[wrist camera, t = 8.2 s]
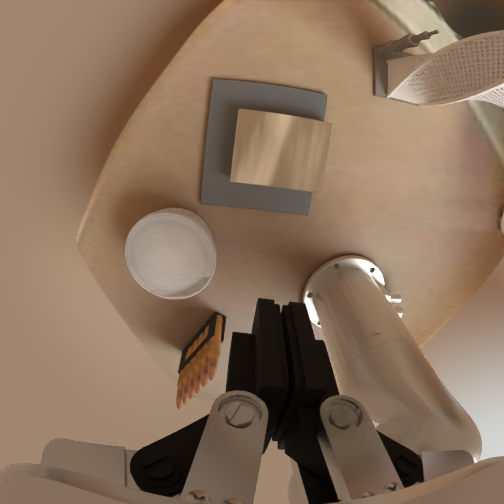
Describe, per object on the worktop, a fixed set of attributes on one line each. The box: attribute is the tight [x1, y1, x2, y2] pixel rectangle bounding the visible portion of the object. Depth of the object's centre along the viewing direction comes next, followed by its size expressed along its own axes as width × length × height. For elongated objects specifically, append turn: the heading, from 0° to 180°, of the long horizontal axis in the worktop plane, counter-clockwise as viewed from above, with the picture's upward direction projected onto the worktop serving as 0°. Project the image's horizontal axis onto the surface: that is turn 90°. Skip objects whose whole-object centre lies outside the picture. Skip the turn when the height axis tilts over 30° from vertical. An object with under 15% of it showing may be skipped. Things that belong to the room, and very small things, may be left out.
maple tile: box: [230, 109, 332, 193], centre depth 30 cm, size 2×8×10 cm
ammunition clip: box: [176, 312, 226, 409], centre depth 38 cm, size 11×2×12 cm, turn 144°
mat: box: [201, 79, 327, 216], centre depth 31 cm, size 13×15×1 cm
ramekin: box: [124, 207, 217, 300], centre depth 34 cm, size 11×11×5 cm
